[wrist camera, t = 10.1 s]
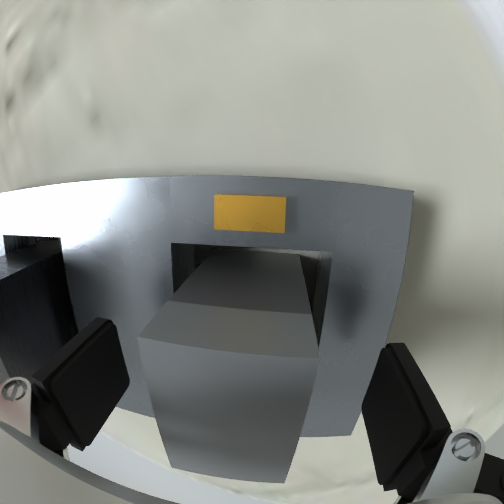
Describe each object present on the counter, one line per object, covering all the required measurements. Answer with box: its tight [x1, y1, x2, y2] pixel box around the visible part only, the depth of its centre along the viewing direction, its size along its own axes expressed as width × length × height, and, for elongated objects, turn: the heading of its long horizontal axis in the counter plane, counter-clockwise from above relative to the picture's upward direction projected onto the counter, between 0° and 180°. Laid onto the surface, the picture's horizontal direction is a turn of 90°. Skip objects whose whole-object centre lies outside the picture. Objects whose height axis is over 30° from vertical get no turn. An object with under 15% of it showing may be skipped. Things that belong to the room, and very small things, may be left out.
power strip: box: [0, 176, 414, 437], centre depth 11 cm, size 24×13×8 cm, turn 88°
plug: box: [137, 248, 320, 483], centre depth 10 cm, size 4×6×8 cm, turn 177°
